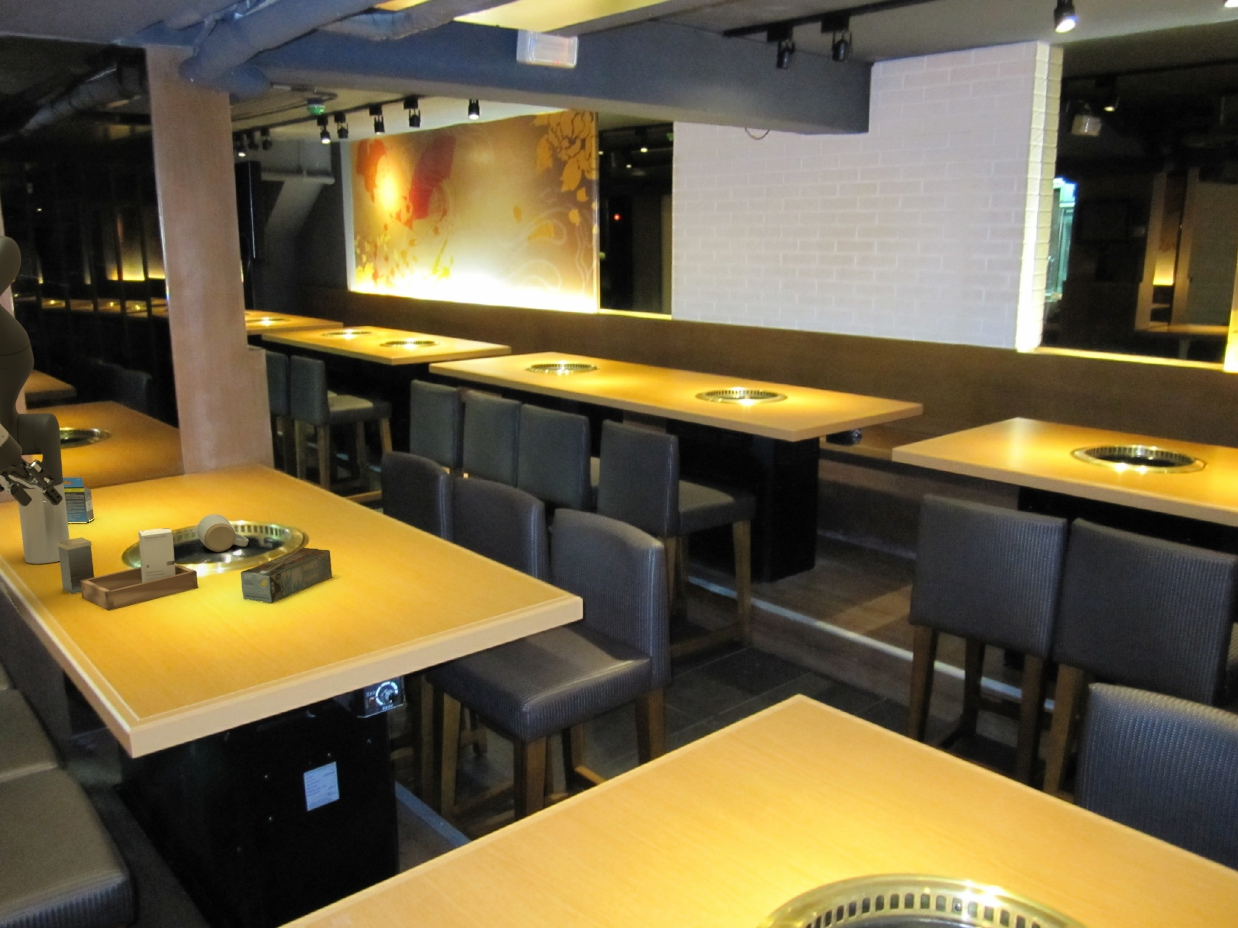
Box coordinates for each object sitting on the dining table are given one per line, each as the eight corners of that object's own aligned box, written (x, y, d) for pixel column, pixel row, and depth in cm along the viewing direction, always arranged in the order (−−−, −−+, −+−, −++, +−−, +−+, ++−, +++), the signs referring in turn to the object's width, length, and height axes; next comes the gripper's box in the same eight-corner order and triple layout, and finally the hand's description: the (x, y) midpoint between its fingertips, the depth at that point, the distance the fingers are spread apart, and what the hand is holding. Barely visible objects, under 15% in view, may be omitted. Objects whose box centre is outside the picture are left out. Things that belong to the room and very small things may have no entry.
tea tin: (62, 589, 205) (57, 542, 203) (86, 583, 209) (81, 537, 207) (72, 594, 203) (66, 546, 201) (96, 588, 206) (91, 541, 204)
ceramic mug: (205, 555, 230) (203, 522, 228) (197, 547, 236) (195, 515, 235) (252, 549, 236) (251, 517, 234) (243, 541, 242) (242, 510, 241)
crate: (81, 597, 200) (80, 580, 200) (169, 576, 214) (167, 560, 213) (109, 610, 193) (107, 592, 192) (197, 587, 207) (196, 571, 206)
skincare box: (145, 593, 203) (140, 535, 201) (142, 587, 207) (136, 530, 204) (178, 588, 206) (173, 531, 204) (174, 582, 210) (169, 526, 208)
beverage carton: (240, 599, 200) (237, 568, 199) (304, 573, 217) (302, 544, 216) (271, 604, 197) (269, 572, 196) (334, 577, 214) (332, 548, 213)
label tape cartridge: (95, 520, 261) (90, 474, 259) (87, 524, 258) (82, 477, 255) (60, 520, 261) (55, 474, 259) (52, 524, 257) (47, 477, 255)
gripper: (27, 427, 188) (81, 488, 198) (-25, 431, 193) (29, 490, 204) (1, 454, 183) (57, 515, 193) (-52, 457, 188) (5, 517, 198)
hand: (43, 502), depth 198 cm, fingers open, 8 cm apart
